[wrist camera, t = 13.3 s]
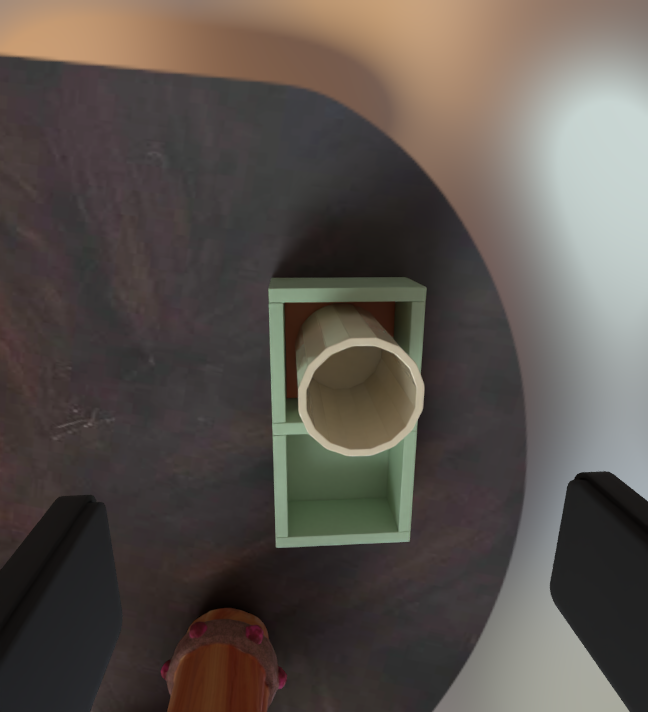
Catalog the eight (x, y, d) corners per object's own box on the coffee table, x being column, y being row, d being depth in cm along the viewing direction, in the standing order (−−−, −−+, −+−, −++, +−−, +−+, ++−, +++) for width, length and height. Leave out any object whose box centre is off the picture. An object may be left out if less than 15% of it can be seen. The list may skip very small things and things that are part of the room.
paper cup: (294, 303, 30) (297, 338, 21) (387, 302, 30) (428, 336, 21) (295, 392, 31) (298, 458, 23) (383, 390, 32) (420, 454, 23)
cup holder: (270, 277, 30) (268, 288, 25) (406, 277, 30) (426, 287, 26) (277, 506, 35) (276, 548, 30) (394, 501, 35) (409, 541, 31)
